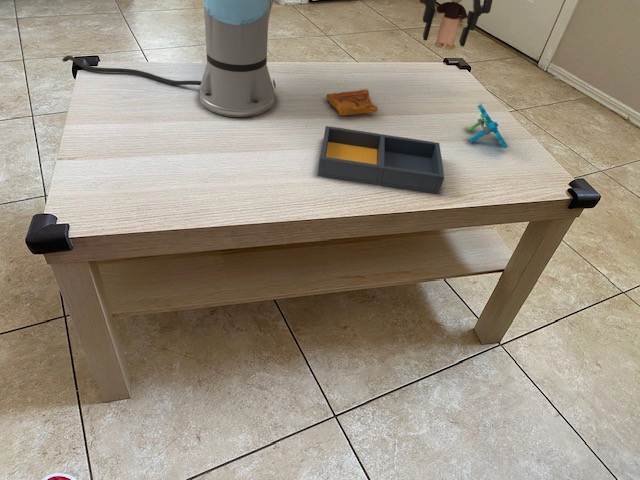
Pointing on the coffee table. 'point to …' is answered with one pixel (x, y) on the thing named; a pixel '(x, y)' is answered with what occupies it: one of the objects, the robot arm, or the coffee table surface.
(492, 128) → the blue green toy windmill
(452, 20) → the grandmother figurine
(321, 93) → the coffee table surface
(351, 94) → the pottery fragment
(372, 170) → the divided tray
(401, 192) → the coffee table surface
